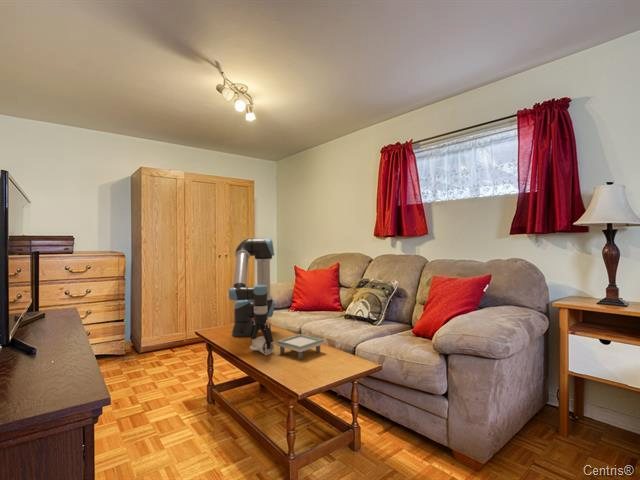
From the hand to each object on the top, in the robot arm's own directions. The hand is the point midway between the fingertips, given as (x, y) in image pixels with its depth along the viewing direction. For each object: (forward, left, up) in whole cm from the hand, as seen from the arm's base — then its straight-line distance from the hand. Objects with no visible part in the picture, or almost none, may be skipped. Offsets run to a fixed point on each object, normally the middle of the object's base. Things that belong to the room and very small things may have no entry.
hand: (260, 352), depth 191 cm
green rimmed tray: (+17, +14, 0) cm, 22 cm away
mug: (0, 0, -1) cm, 1 cm away
